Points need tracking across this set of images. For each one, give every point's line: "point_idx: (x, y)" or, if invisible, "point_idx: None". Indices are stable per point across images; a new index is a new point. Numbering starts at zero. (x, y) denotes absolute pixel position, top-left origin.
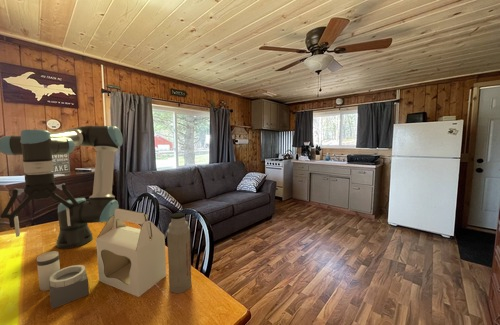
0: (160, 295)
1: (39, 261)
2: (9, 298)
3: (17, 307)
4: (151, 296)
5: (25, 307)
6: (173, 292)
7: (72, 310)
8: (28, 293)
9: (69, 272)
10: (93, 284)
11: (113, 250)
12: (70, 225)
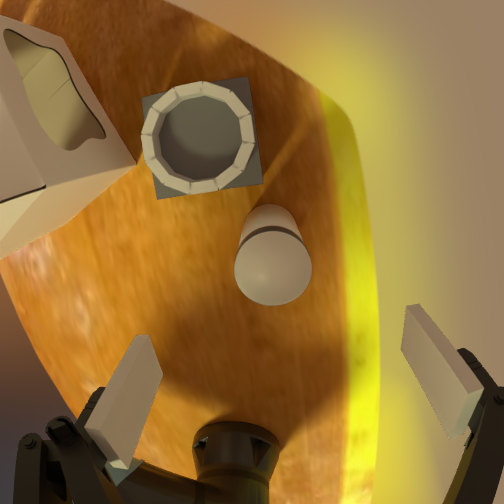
0: None
1: (298, 240)
2: (361, 224)
3: (335, 157)
4: None
5: (316, 143)
6: None
7: (198, 52)
8: (321, 219)
9: (201, 179)
10: None
11: (16, 85)
12: (135, 336)
